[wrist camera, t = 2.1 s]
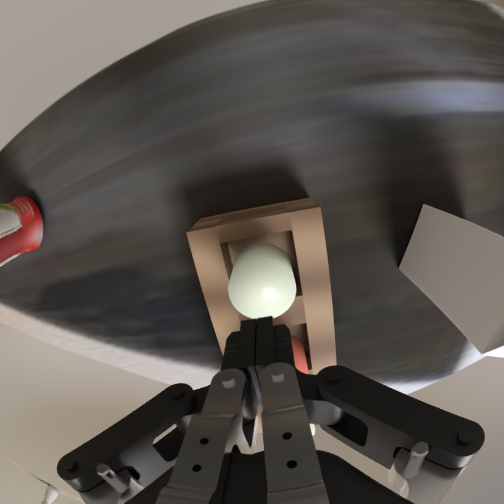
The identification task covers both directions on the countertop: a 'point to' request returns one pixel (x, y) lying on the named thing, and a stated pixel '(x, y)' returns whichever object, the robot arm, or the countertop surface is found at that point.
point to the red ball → (299, 355)
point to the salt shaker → (50, 495)
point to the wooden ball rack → (302, 261)
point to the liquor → (19, 228)
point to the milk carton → (460, 275)
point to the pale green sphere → (262, 281)
